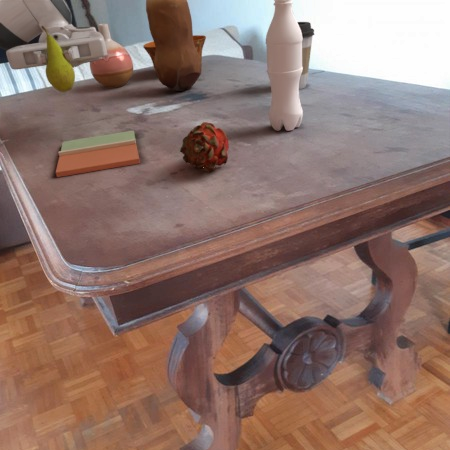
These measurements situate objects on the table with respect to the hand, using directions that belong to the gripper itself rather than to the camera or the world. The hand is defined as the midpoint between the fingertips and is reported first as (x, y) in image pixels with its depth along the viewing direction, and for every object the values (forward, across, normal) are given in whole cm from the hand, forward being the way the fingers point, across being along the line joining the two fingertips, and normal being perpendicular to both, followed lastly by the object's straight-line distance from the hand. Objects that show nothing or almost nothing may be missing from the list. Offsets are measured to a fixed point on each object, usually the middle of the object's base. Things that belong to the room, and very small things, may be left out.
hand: (55, 57), depth 94 cm
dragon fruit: (+25, +24, +18) cm, 39 cm away
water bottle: (+10, +44, +18) cm, 49 cm away
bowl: (-69, +32, +18) cm, 78 cm away
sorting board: (+7, +4, +18) cm, 20 cm away
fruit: (-1, 0, +7) cm, 7 cm away
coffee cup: (-24, +57, +18) cm, 65 cm away
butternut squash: (-41, +28, +18) cm, 53 cm away
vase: (-62, +9, +18) cm, 65 cm away
